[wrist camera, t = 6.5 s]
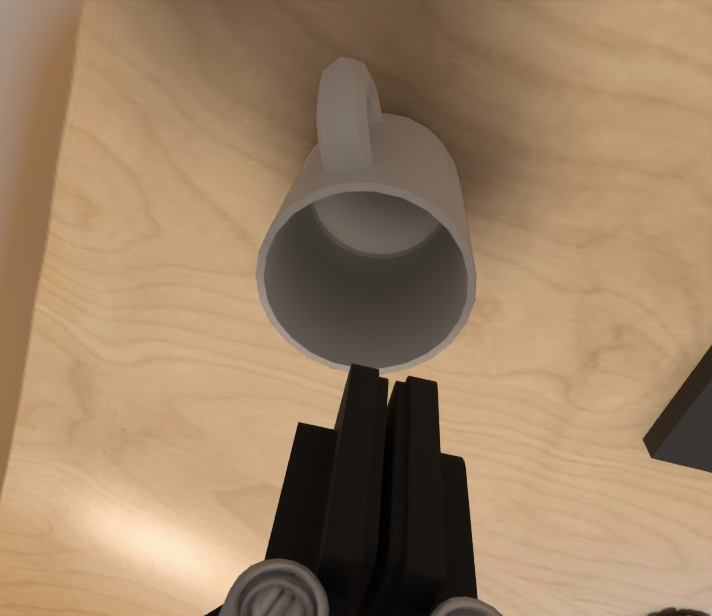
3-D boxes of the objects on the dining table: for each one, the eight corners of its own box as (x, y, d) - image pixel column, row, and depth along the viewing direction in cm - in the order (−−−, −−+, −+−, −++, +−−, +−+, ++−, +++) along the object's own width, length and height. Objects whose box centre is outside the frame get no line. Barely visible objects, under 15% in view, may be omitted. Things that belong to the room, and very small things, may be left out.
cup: (321, 268, 28) (287, 382, 21) (267, 57, 23) (196, 108, 16) (466, 249, 27) (484, 364, 20) (443, 21, 22) (456, 59, 14)
